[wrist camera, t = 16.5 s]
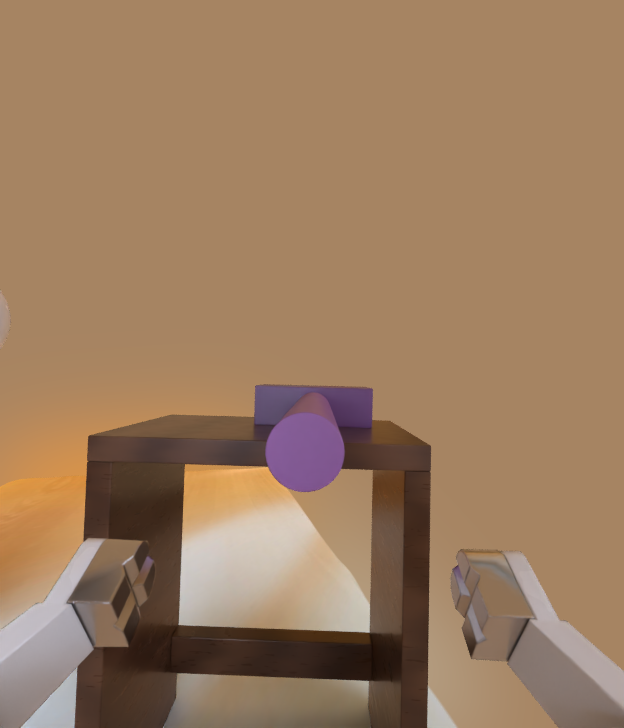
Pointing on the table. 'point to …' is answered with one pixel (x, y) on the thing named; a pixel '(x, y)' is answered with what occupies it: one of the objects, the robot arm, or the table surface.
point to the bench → (255, 645)
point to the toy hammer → (309, 430)
